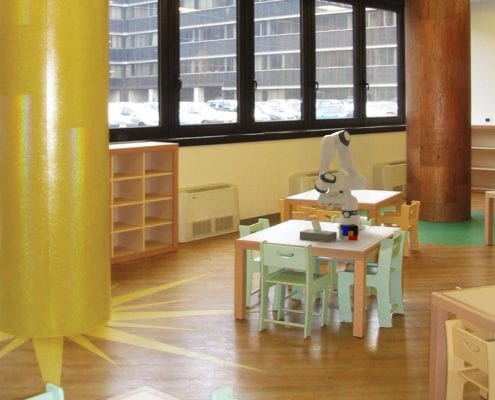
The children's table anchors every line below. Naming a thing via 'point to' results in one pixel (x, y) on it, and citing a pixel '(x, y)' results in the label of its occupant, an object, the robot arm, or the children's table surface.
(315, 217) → the lever
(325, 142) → the robot arm
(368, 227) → the children's table surface
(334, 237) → the switch box
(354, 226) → the puzzle toy
